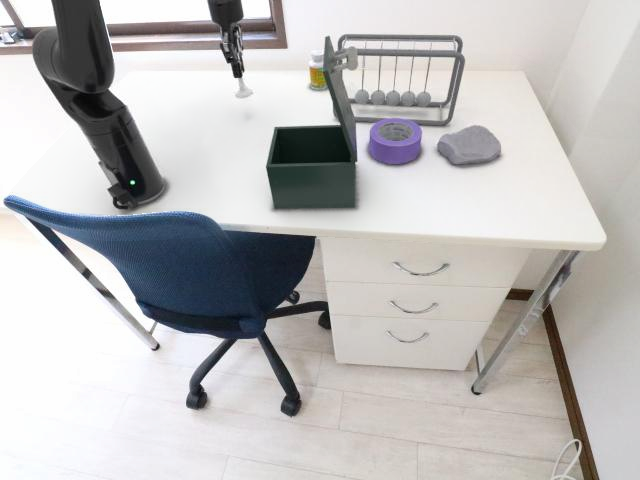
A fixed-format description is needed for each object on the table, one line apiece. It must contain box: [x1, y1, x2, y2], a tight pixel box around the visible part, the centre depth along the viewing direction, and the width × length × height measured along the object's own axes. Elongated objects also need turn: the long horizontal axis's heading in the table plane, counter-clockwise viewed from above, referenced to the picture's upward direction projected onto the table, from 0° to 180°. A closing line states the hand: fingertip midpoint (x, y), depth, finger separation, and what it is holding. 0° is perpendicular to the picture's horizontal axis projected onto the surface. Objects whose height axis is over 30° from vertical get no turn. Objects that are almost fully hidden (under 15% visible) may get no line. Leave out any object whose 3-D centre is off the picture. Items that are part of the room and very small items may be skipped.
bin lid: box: [323, 35, 359, 164], centre depth 65 cm, size 17×14×5 cm
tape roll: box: [368, 117, 423, 165], centre depth 86 cm, size 12×12×5 cm
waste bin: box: [265, 124, 356, 210], centre depth 77 cm, size 17×14×11 cm
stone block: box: [436, 124, 502, 166], centre depth 84 cm, size 12×5×10 cm
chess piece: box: [233, 62, 254, 99], centre depth 94 cm, size 5×5×10 cm
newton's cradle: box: [332, 33, 466, 126], centre depth 92 cm, size 30×10×18 cm, turn 79°
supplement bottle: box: [308, 49, 328, 91], centre depth 108 cm, size 5×5×10 cm
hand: (239, 74), depth 94 cm, fingers closed on chess piece
